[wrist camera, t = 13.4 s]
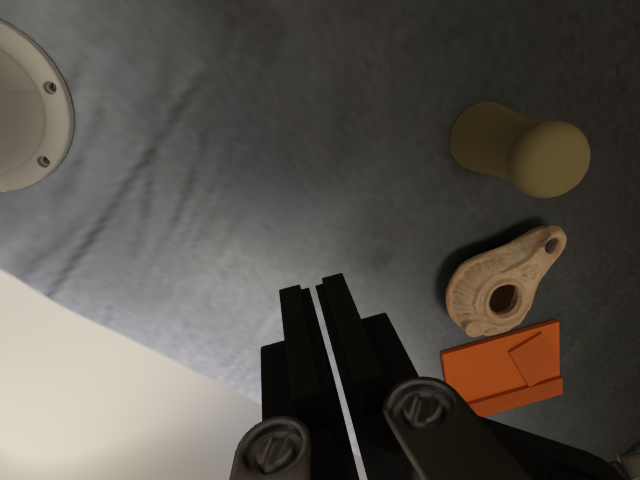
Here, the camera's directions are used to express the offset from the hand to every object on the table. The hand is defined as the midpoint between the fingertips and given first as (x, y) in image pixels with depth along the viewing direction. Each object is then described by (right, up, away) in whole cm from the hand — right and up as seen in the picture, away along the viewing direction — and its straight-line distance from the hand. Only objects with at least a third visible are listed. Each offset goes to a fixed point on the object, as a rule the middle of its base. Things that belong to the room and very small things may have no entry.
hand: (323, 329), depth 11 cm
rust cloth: (+20, -12, +38) cm, 44 cm away
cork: (+14, +11, +27) cm, 33 cm away
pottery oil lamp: (+17, 0, +33) cm, 37 cm away
